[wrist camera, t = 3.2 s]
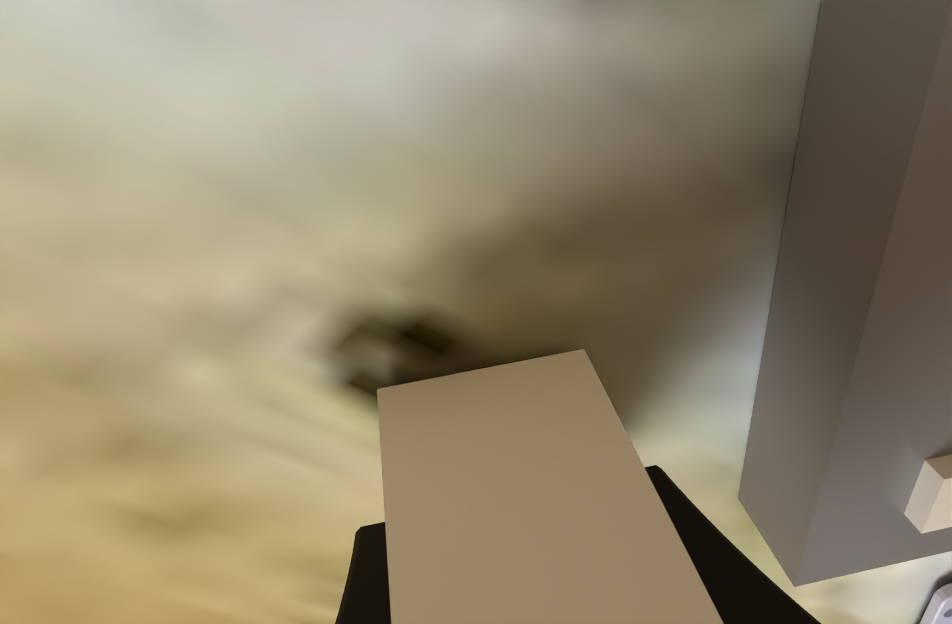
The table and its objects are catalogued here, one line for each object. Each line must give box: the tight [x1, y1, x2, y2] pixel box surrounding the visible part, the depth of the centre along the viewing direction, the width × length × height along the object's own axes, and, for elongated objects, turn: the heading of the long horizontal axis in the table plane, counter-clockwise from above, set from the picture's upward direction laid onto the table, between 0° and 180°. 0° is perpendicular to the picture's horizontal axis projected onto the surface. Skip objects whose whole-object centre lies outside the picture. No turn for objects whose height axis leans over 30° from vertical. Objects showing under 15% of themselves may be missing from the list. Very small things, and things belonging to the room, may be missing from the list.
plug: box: [377, 349, 723, 624], centre depth 11 cm, size 4×4×7 cm
